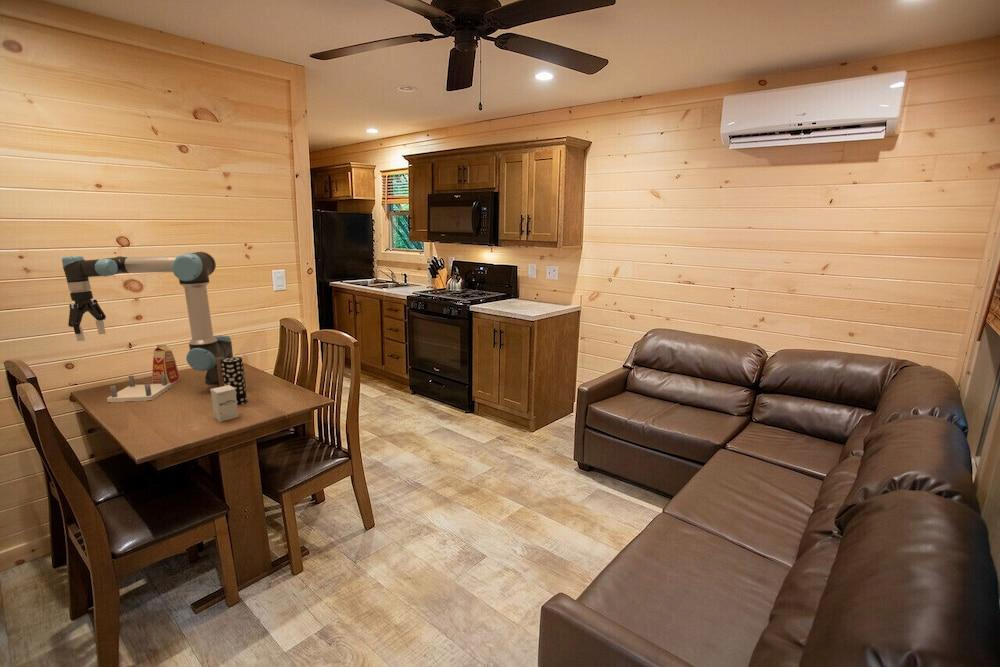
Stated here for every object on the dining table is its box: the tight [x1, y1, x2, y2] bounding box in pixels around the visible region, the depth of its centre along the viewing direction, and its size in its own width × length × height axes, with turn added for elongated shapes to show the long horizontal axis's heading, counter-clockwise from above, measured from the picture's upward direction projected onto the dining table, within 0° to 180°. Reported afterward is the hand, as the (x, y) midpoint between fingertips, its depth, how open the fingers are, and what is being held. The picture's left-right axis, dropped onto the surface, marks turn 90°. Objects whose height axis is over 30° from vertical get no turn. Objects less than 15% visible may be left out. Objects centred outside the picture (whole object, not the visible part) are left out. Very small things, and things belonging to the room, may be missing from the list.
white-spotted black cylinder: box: [220, 356, 248, 406], centre depth 215 cm, size 8×8×20 cm
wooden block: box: [216, 357, 247, 389], centre depth 227 cm, size 4×11×18 cm, turn 134°
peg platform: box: [106, 374, 173, 403], centre depth 225 cm, size 18×18×7 cm
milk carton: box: [151, 344, 181, 385], centre depth 241 cm, size 9×9×20 cm
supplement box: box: [209, 385, 239, 423], centre depth 200 cm, size 7×7×13 cm
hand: (92, 337), depth 222 cm, fingers open, 13 cm apart
